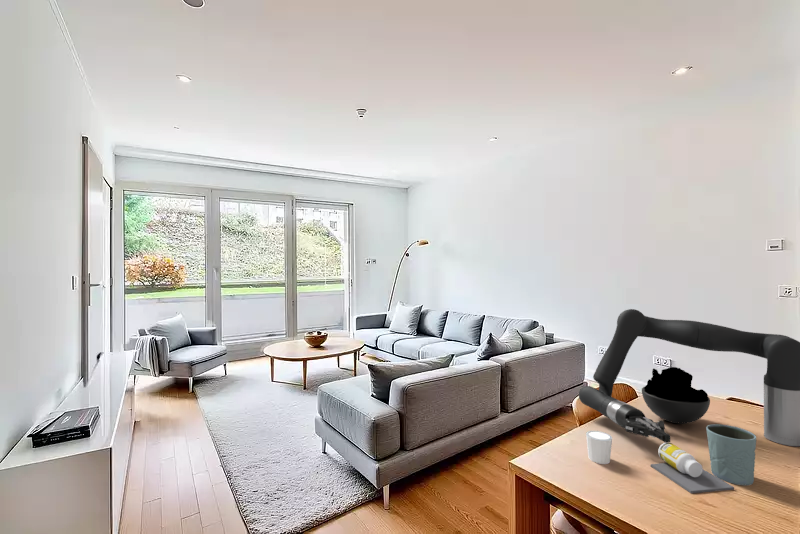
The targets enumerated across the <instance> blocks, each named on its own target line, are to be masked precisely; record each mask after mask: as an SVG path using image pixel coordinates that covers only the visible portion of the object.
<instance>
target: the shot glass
mask: <svg viewBox="0 0 800 534" xmlns="http://www.w3.org/2000/svg"><path fill="white" fill-rule="evenodd" d="M585 437H586V447H587V457H588V459H589V460H590V461H591V462H593V463H595V462H596V463H595V464H600V465H607V464H609V463H610V462H611V457H612V456H611V455H612V453H611V452H612V445H613V443H612V442H613V436H612V435H611V434H609V433H607V432H604V431H600V430H588V431H587V432H586V433H585Z"/></svg>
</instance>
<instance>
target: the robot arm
mask: <svg viewBox="0 0 800 534" xmlns="http://www.w3.org/2000/svg"><path fill="white" fill-rule="evenodd" d="M614 331H615V332H614V333H613V337H612V338H611V339H612V340H611V342H610V343H609V346H608V347H607V349H606V351H605V353H604V354H603V355H602V358H601V359H600V361H599V363H598V365H597V367H596V369H595V371H594V373H593V377H592V378H593V380H594V381H595V382H597V384H598V389H597V388H595V387H593V386H590V385H585V386H583V387H581V388H580V389H579V391H578V399H579V401H580V402H581V403H582V404H583V405H585V406H587V407H589V408H590V409H592V410H595V411H596V412H599V413H600V414H601V415H603V416H604V417H606V418H607V419H610V420H611V421H612V422H613V423H615V424H616V425H618V426H620V427H622V429H624V430H625V432H627V433H631V434H635V435H638V436H642V437H645V438H649V437H651V438H656V439H658V440H659V441H662V442H663V443H665V442H669V443H671V435H670V434H669V433H668V432H666V430H665V427H666V426H665V420H664V421H663V420H661V419H660V420H658V421H657V422H656V421H654V420H653V419H651V418H648V417H647V416H646V415H645V414H644V412H643V411H642V410H640V409H639V408H638V407H635V406H632V405H630V404H629V403H626V402H624V401H622V400H619V399H617V398H615V397H613V396H612V395H613V391H614V384H615V383H616V382H615V381H617V378H618V376H619V374H620V372H621V370H622V367H623V365H624V363H625V360H626V357H627V356H628V353H629V351H630V349H631V347H632V345H633V344H634V342H635V341H636V339H637V338H638V337H642V338H650V339H656V340H657V339H658V340H662V341H667V342H669V343H673V344H677V345H681V346H685V347H691V348H695V349H699V350H705V351H711V352H727V353H728V352H730V353H731V352H733V353H742V354H747V355H751V356H755V357H760V358H764V359H766V360H767V361H766V373H765V374H764V375H763V437H764V438H765V439H767V440H769V441H772V442H774V443H777V444H780V445H783V446H790V447H800V341H799V340H797V339H795V338H792V337H790V336H788V335H783V334H778V333H777V334H776V333H763V332H751V331H745V330H739V329H736V328H733V327H727V326H722V325H718V324H713V323H708V322H703V321H702V322H701V321H696V320H687V319H685V320H684V319H663V318H662V319H661V318H655V317H651V316H647V315H644V314H643V313H642V312H641V311H640V310H637V309H633V308H630V309H629V308H628V309H625V310H624V311H622V312H620V314H619V315H618V317H617V320H616V328H615V330H614Z"/></svg>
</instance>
